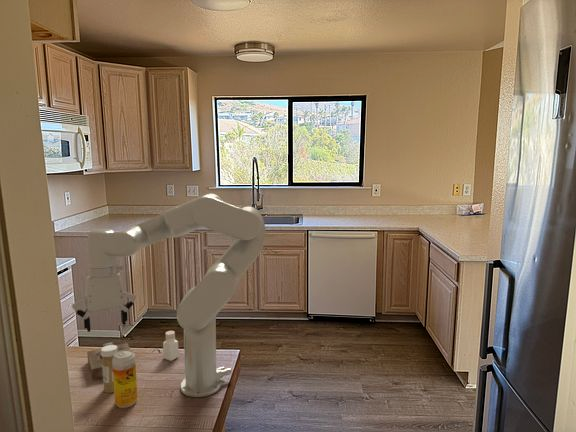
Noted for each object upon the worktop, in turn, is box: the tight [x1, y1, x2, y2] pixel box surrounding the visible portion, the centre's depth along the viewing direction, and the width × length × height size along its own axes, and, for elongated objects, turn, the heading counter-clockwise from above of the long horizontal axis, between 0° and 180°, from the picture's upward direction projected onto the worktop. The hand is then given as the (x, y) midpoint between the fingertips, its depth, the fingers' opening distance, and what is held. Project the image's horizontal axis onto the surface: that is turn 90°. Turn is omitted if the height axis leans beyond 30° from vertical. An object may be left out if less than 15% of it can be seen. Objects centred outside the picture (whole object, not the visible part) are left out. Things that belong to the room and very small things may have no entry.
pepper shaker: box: [162, 330, 180, 362], centre depth 140 cm, size 4×4×10 cm
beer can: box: [112, 349, 138, 409], centre depth 114 cm, size 6×6×15 cm
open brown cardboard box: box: [86, 342, 131, 382], centre depth 135 cm, size 13×14×6 cm
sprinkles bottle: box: [100, 344, 117, 394], centre depth 121 cm, size 5×5×13 cm
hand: (106, 326), depth 119 cm, fingers open, 9 cm apart
